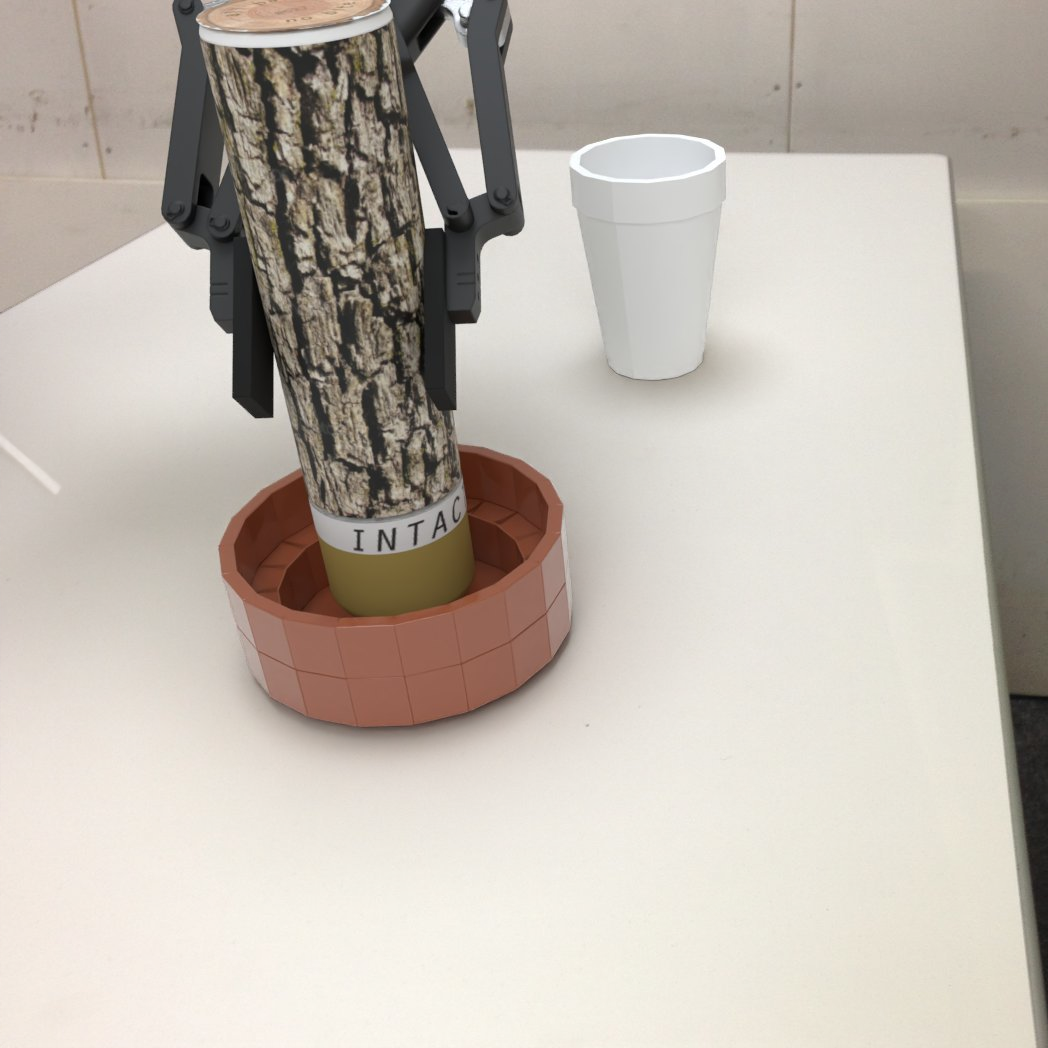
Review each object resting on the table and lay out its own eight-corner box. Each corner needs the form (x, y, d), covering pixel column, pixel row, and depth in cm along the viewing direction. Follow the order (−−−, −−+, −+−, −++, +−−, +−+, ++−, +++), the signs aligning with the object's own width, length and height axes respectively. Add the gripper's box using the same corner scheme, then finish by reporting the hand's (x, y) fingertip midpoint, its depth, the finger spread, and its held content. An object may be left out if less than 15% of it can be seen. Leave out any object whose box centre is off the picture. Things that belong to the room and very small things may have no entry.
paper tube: (305, 589, 61) (160, 14, 45) (423, 532, 64) (326, -20, 49) (385, 651, 56) (256, 41, 41) (506, 586, 60) (429, 3, 45)
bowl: (212, 743, 56) (176, 633, 52) (289, 548, 68) (263, 448, 64) (565, 731, 55) (553, 619, 52) (578, 537, 68) (569, 436, 64)
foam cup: (738, 333, 87) (738, 135, 79) (713, 395, 80) (711, 185, 72) (603, 325, 89) (590, 132, 81) (567, 385, 82) (549, 179, 74)
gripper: (587, -79, 57) (602, 422, 54) (149, -57, 57) (139, 441, 54) (573, -212, 49) (589, 360, 46) (70, -185, 50) (54, 383, 47)
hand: (347, 403), depth 50 cm, fingers closed on paper tube, 7 cm apart
